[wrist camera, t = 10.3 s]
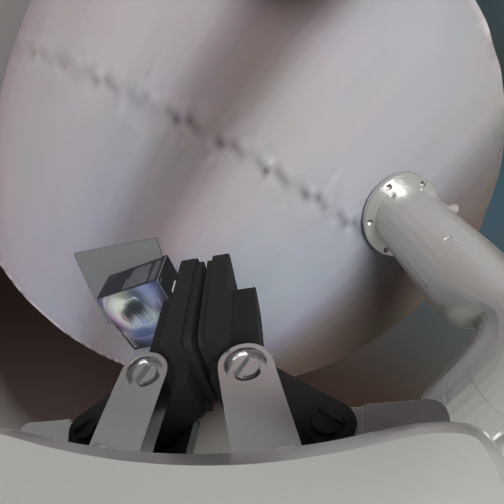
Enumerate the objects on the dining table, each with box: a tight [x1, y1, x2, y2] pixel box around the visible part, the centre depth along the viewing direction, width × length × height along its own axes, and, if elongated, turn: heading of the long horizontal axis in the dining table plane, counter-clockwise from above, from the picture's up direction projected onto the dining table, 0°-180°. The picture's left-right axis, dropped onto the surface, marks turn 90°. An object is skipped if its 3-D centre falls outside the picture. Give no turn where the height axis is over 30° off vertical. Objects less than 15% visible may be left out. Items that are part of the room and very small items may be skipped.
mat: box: [74, 238, 163, 324], centre depth 43 cm, size 14×14×1 cm
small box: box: [96, 255, 178, 350], centre depth 41 cm, size 11×6×10 cm
